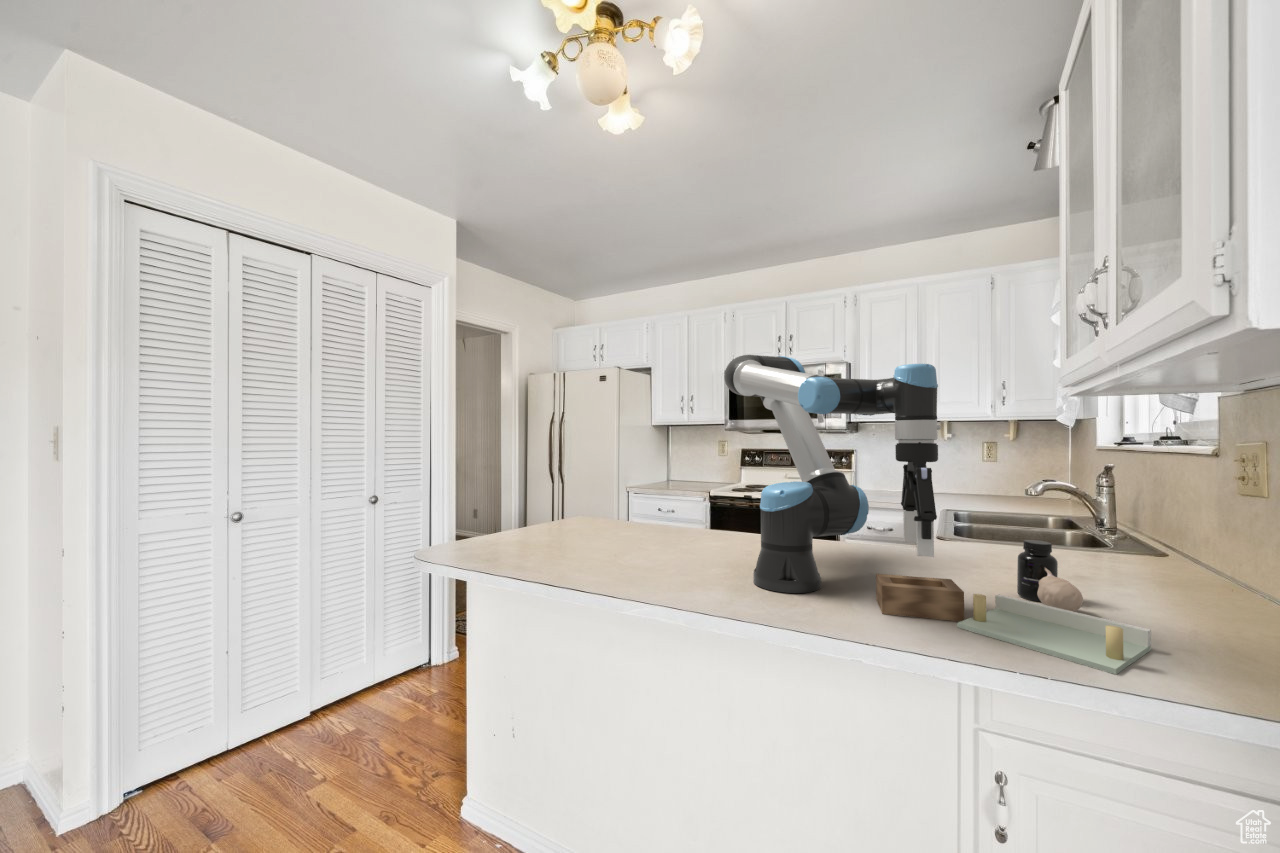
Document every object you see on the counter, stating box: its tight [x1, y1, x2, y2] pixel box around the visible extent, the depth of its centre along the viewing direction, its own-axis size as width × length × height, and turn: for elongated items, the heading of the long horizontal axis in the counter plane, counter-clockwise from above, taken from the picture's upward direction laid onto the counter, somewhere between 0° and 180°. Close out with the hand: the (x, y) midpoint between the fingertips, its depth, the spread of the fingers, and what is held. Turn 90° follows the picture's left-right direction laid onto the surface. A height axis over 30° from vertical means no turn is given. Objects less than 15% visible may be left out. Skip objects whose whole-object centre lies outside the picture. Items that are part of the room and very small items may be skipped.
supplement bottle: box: [1016, 539, 1059, 603], centre depth 111 cm, size 7×7×12 cm
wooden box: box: [875, 573, 965, 622], centre depth 104 cm, size 14×9×6 cm, turn 72°
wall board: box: [956, 593, 1152, 675], centre depth 90 cm, size 22×16×5 cm
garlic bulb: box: [1037, 568, 1084, 612], centre depth 103 cm, size 7×6×8 cm
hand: (917, 548), depth 104 cm, fingers open, 13 cm apart
